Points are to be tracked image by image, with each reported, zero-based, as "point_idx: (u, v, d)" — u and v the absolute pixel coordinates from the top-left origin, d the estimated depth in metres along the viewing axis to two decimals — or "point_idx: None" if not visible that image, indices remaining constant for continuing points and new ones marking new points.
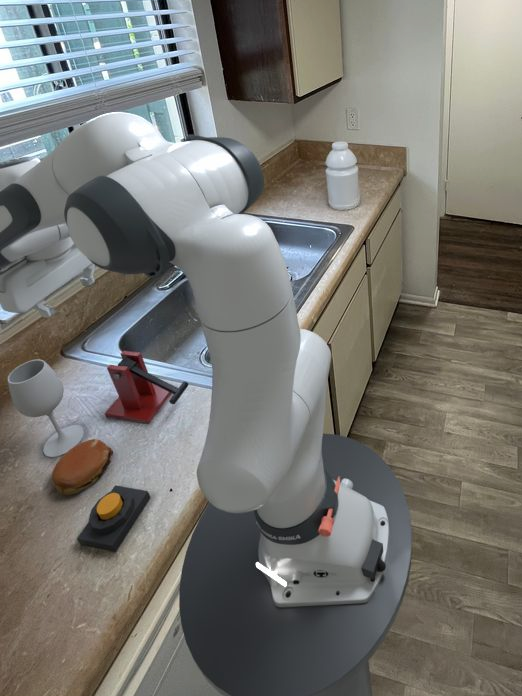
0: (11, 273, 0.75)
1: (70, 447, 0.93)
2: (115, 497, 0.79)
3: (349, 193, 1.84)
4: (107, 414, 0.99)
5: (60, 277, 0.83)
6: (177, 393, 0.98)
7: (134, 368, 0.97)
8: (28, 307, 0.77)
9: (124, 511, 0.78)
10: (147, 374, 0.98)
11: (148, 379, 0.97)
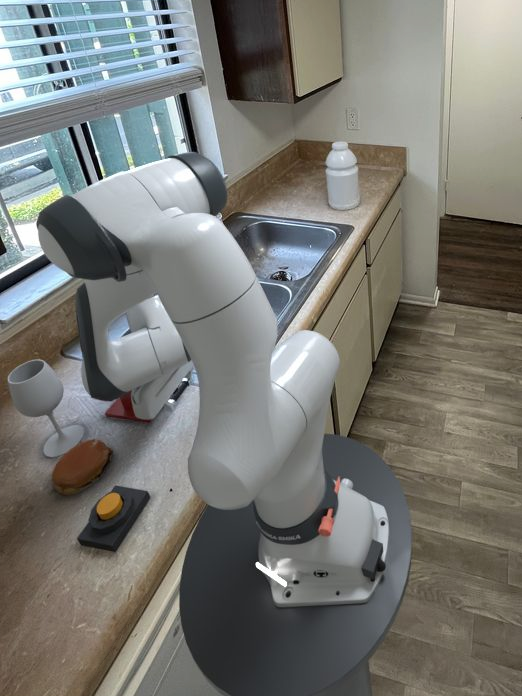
0: (145, 387, 0.87)
1: (70, 447, 0.93)
2: (115, 497, 0.79)
3: (349, 193, 1.84)
4: (107, 414, 0.99)
5: (176, 381, 0.95)
6: (177, 393, 0.98)
7: None
8: (156, 413, 0.89)
9: (124, 511, 0.78)
10: None
11: None
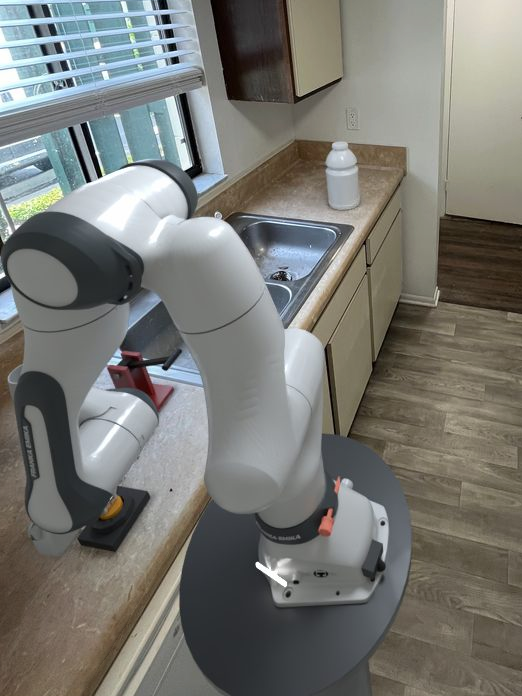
0: None
1: None
2: (116, 500, 0.79)
3: (349, 193, 1.84)
4: None
5: None
6: (168, 359, 0.93)
7: (131, 363, 0.97)
8: (66, 546, 0.68)
9: (124, 511, 0.78)
10: (142, 361, 0.96)
11: (144, 364, 0.95)
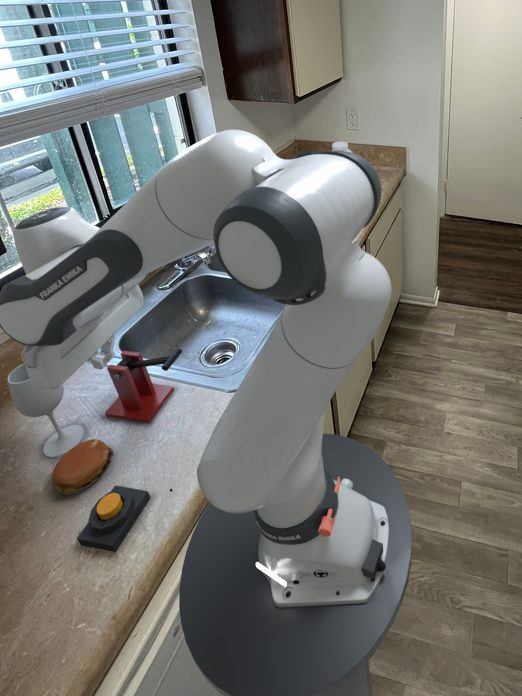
0: None
1: (70, 447, 0.93)
2: (115, 497, 0.79)
3: None
4: (107, 414, 0.99)
5: (95, 342, 0.72)
6: (168, 359, 0.93)
7: (131, 363, 0.97)
8: (61, 382, 0.67)
9: (124, 511, 0.78)
10: (142, 361, 0.96)
11: (144, 364, 0.95)
